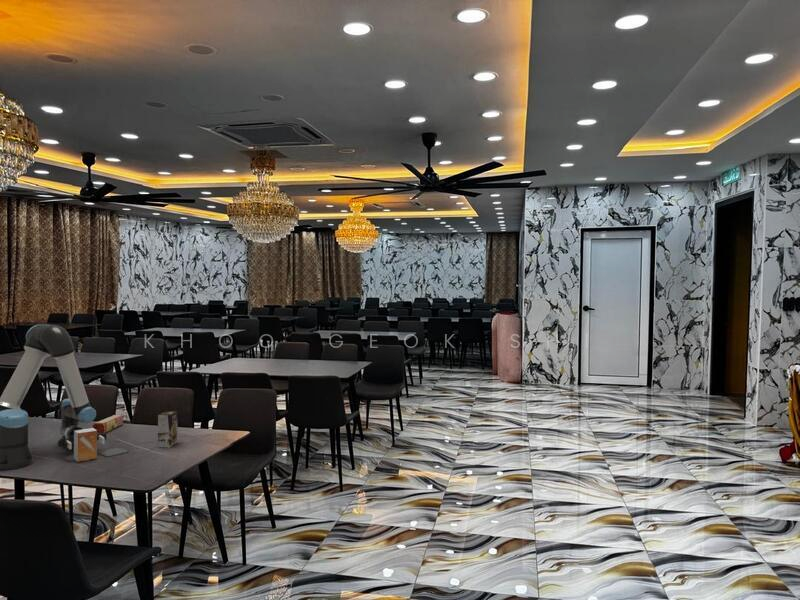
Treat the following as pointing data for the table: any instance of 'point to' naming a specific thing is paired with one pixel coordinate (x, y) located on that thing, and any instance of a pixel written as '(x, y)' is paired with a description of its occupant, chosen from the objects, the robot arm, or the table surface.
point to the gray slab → (112, 452)
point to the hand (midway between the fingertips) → (87, 443)
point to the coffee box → (167, 429)
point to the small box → (85, 444)
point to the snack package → (108, 424)
